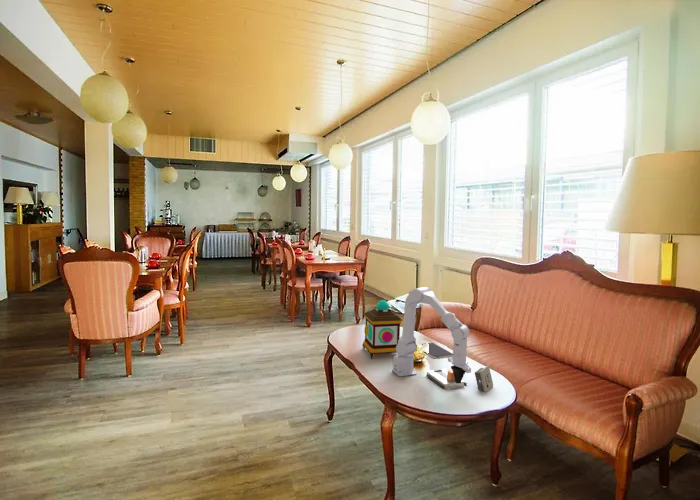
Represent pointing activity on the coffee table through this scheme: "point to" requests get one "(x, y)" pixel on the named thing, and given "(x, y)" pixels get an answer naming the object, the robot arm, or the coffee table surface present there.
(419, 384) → the coffee table surface
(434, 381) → the cord left
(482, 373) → the electrical switch
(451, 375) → the block
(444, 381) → the breaker panel
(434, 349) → the notebook
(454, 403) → the coffee table surface
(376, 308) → the decorative lantern
